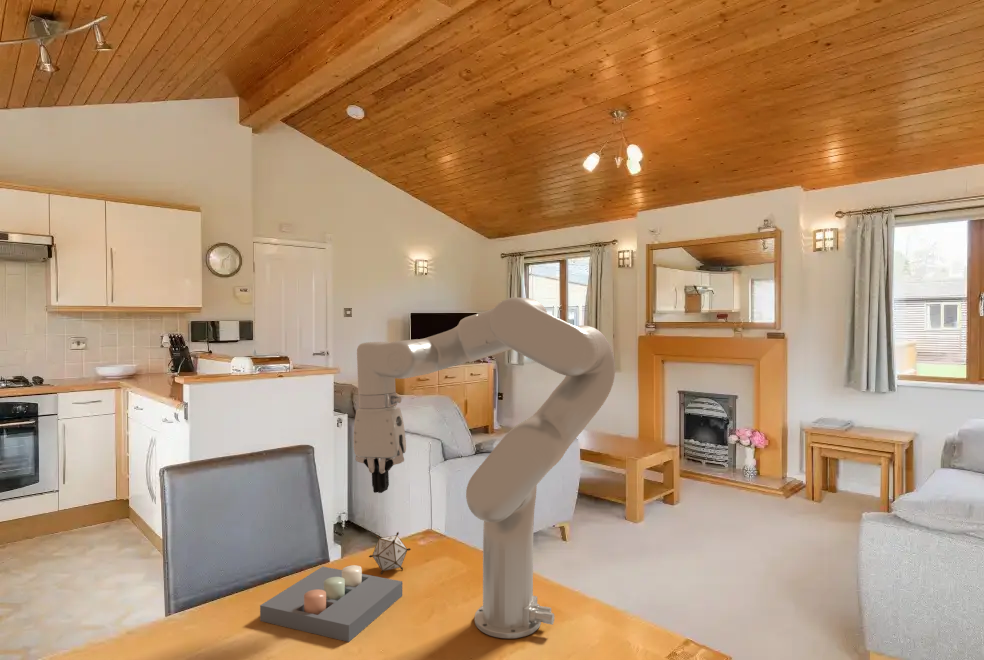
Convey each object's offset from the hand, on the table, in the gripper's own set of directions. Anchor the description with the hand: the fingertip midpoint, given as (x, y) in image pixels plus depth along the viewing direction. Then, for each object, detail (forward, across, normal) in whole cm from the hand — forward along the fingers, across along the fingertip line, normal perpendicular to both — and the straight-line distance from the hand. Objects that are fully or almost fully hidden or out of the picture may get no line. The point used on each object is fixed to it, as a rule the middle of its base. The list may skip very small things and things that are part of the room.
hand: (380, 490), depth 123 cm
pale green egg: (+22, +8, +7) cm, 24 cm away
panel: (+22, +8, +7) cm, 24 cm away
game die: (+22, +6, -13) cm, 26 cm away
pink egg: (+22, +8, +13) cm, 26 cm away
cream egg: (+22, +7, +1) cm, 23 cm away
